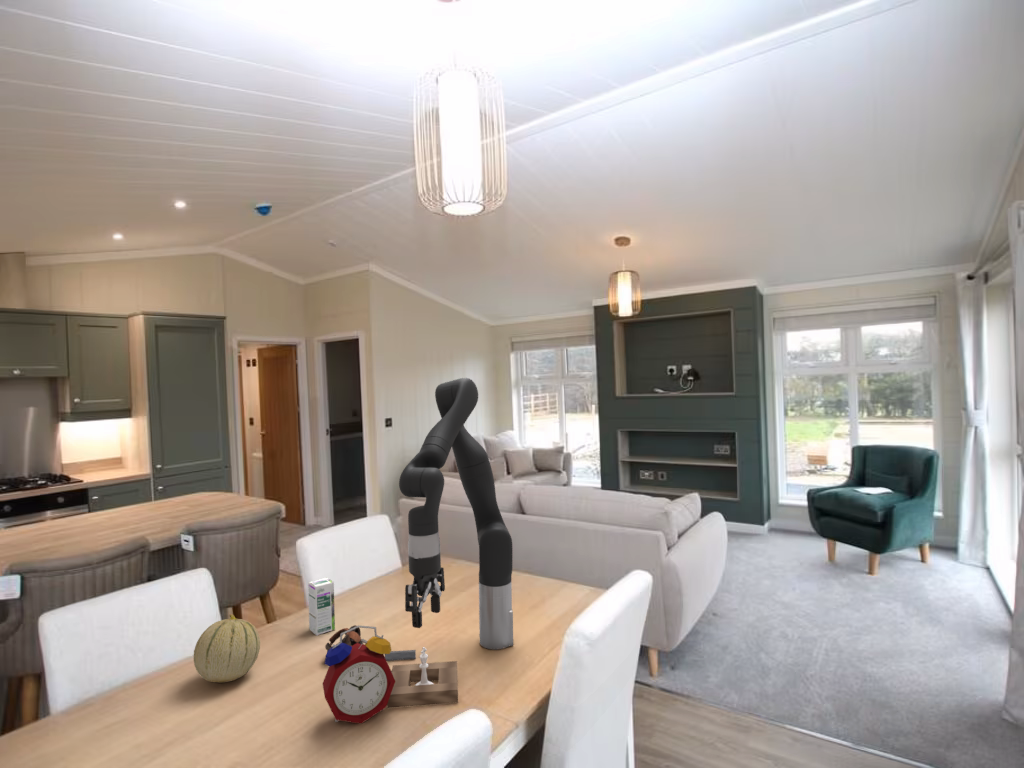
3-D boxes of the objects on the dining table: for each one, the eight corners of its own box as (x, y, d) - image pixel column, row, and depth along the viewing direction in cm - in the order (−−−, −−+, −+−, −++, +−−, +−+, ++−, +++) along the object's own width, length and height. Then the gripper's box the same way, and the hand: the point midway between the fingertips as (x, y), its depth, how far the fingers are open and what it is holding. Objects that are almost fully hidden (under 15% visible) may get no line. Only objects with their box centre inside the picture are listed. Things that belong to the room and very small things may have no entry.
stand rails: (415, 657, 146) (415, 649, 146) (412, 679, 135) (412, 671, 135) (385, 659, 145) (385, 651, 145) (379, 681, 134) (379, 673, 134)
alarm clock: (325, 733, 114) (324, 638, 114) (322, 710, 122) (320, 621, 122) (396, 715, 120) (394, 624, 120) (388, 695, 128) (387, 610, 128)
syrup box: (316, 636, 159) (315, 586, 159) (308, 629, 163) (308, 581, 163) (335, 630, 163) (334, 581, 163) (327, 623, 167) (326, 576, 167)
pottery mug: (363, 666, 142) (346, 643, 140) (333, 680, 144) (315, 656, 142) (375, 634, 154) (360, 612, 152) (348, 647, 155) (332, 625, 154)
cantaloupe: (192, 702, 126) (191, 637, 126) (195, 672, 139) (194, 614, 139) (262, 685, 133) (261, 623, 133) (259, 658, 146) (258, 602, 146)
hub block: (457, 672, 138) (457, 660, 138) (458, 702, 125) (457, 689, 125) (392, 677, 136) (392, 665, 136) (386, 708, 123) (386, 694, 123)
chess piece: (409, 692, 129) (409, 650, 129) (421, 681, 134) (421, 641, 134) (427, 697, 127) (426, 654, 127) (438, 686, 132) (438, 644, 132)
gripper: (426, 541, 138) (428, 606, 138) (393, 559, 124) (396, 630, 124) (452, 544, 135) (454, 609, 135) (422, 562, 122) (425, 634, 122)
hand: (426, 619), depth 130 cm, fingers open, 8 cm apart
